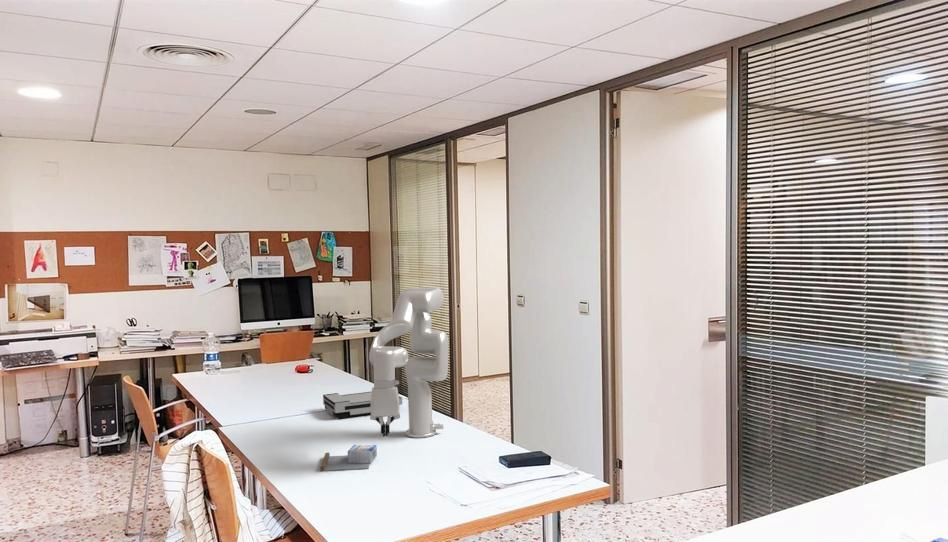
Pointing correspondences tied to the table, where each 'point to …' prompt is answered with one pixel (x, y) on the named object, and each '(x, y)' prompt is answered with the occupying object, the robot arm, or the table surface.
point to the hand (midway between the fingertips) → (385, 435)
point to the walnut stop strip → (324, 461)
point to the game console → (349, 404)
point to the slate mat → (343, 464)
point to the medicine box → (362, 453)
